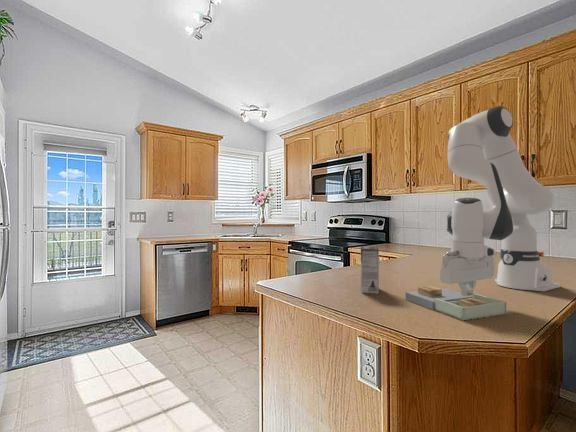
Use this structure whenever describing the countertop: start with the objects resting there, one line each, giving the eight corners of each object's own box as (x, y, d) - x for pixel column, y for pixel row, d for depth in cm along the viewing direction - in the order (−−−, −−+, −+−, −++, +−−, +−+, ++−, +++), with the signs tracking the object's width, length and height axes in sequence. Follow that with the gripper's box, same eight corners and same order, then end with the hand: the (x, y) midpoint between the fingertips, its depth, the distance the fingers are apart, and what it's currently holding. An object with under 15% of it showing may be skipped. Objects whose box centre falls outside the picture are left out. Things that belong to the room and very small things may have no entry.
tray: (474, 304, 102) (474, 293, 102) (506, 314, 92) (506, 302, 92) (434, 310, 96) (434, 298, 96) (463, 320, 87) (463, 308, 87)
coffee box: (360, 287, 126) (360, 246, 125) (377, 287, 124) (377, 246, 124) (361, 293, 117) (361, 248, 116) (379, 293, 115) (379, 249, 115)
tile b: (430, 291, 108) (430, 285, 108) (441, 295, 103) (441, 289, 103) (418, 293, 106) (418, 287, 106) (429, 296, 102) (429, 290, 101)
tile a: (470, 304, 100) (470, 298, 100) (485, 308, 95) (485, 302, 95) (459, 306, 98) (459, 299, 98) (474, 311, 94) (474, 304, 94)
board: (442, 295, 113) (442, 288, 113) (472, 304, 102) (472, 296, 102) (405, 299, 108) (405, 292, 108) (432, 309, 96) (432, 301, 96)
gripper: (452, 253, 92) (452, 302, 92) (498, 249, 100) (498, 294, 100) (434, 251, 97) (434, 296, 98) (479, 247, 106) (479, 289, 106)
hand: (467, 295), depth 99 cm, fingers closed
